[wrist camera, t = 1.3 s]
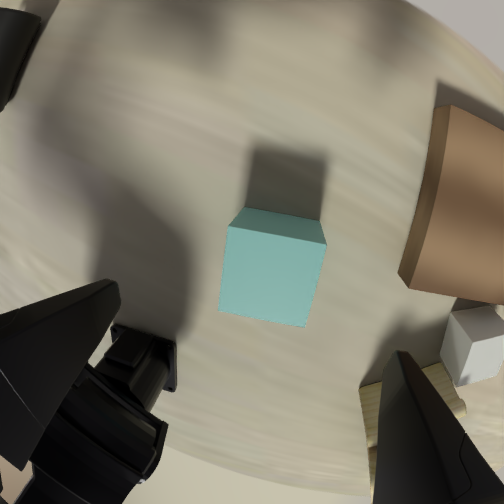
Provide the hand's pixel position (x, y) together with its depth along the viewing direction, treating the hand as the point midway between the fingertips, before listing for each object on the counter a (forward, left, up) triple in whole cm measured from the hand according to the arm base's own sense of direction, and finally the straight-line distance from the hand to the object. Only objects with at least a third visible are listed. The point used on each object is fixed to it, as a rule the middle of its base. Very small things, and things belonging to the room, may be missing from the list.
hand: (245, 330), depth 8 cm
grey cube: (-6, -18, -12) cm, 23 cm away
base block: (+4, -15, -12) cm, 20 cm away
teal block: (-2, 0, -12) cm, 12 cm away
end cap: (+13, +28, -12) cm, 33 cm away
